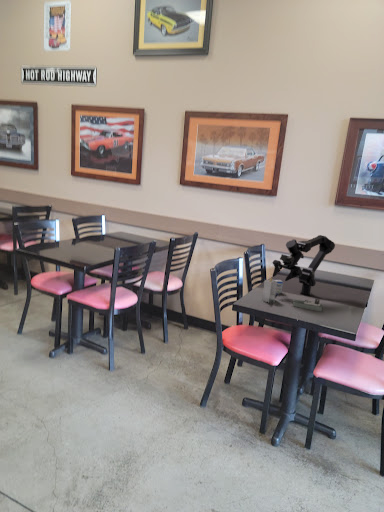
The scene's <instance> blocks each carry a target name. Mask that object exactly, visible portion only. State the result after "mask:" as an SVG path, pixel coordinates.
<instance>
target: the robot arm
mask: <svg viewBox="0 0 384 512" xmlns="http://www.w3.org/2000/svg"><path fill="white" fill-rule="evenodd" d="M285 246H286V248H287V250H288V253H289V254H290V255H286V254H282V253H281V256H280V257H279V260H277V259H275V260H273V261H272V265H273V266H274V267H273V268H274V269H273V273H272V277H273V278H274V277H276V276H277V275H278V274H279V273H280V272H281V271H282V270H283V269H286V270H288V271H290V272H289V273H288V275H287V276H286V277H285V279H284V281H285V282H288V281H289V280H292V279H294V278H296V277H298V283H299V284H301V289H300V292H299V295H304V296H312V291H311V290H312V287H315V286H316V280H315V277H316V276H315V275H316V274H315V272H317V269H318V268H319V266H320V265H321V263H322V262H323V260H324V259H325V257H326V256H327V255H328V254H330V253H332V252H333V250H334V249H335V247H336V245H335V242H334V241H333V240H331V239H330V238H328V236H326V235H321V234H318V235H317V236H316V237H313V238H310V239H308V240H300V241H297V240H296V239H295V238H292V240H289V241H287V242H286V243H285ZM316 246H319V247H318V252H317V253H316V255H315V256H314V257H313V259H312V261H311V263H310V264H309V265H308V266H307V268H304V267H303V268H301V267H300V266H298V264H299V263H298V262H300V260H301V259H304V253H308V252H310V251H311V250H312V248H314V247H316ZM280 260H281V261H280Z"/></svg>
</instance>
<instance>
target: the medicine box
mask: <svg viewBox="0 0 384 512" xmlns="http://www.w3.org/2000/svg"><path fill="white" fill-rule="evenodd" d="M272 280H273V281H276V282H277V288H276V295H275V296H278V295H279V294H282V292H283V291H282V290H283V285H284V281H282V280H281V279H272Z"/></svg>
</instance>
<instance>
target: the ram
mask: <svg viewBox="0 0 384 512" xmlns="http://www.w3.org/2000/svg"><path fill="white" fill-rule="evenodd" d="M304 301H305V302H304V304H306V305H311V306H317V307H319V306H320V304H321V300H320V299H317V298H315V299H314V301H312V300H307V299H304Z"/></svg>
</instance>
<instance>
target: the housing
mask: <svg viewBox="0 0 384 512" xmlns="http://www.w3.org/2000/svg"><path fill="white" fill-rule="evenodd" d="M273 278H274V277H273ZM273 278H272V277H270V278H269V279H266V280H264V283H263V290H262V298H261V301H262V300H263V301H262V302H265V303H267V302H268V303H267V304H271V303H270V302H272V303H275V301H276V296H277V295H276V288H277V282H276V281H273V280H274V279H273Z"/></svg>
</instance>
